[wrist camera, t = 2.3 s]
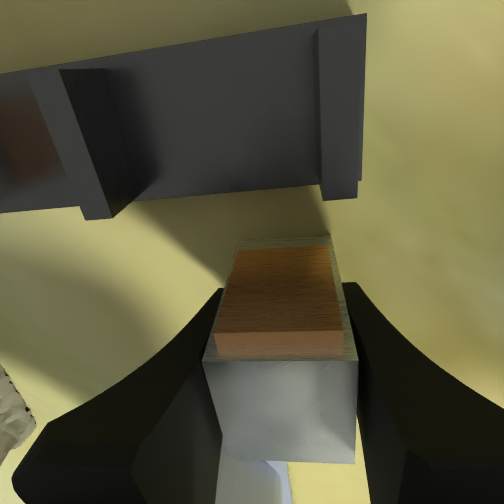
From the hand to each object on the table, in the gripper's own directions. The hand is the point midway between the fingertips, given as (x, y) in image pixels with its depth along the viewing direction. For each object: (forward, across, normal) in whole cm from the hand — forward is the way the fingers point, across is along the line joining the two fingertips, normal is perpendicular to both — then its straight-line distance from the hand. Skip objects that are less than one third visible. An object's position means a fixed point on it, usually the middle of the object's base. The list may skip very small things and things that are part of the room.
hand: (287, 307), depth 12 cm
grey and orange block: (+2, 0, 0) cm, 2 cm away
